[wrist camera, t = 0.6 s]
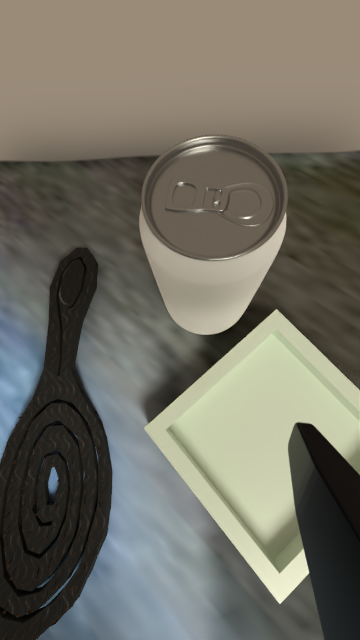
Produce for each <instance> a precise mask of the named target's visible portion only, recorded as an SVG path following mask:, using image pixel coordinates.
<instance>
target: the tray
mask: <svg viewBox="0 0 360 640" xmlns="http://www.w3.org/2000/svg"><path fill="white" fill-rule="evenodd" d="M296 422H302V423H310V424H312V425H314V426H315V427H316V428H317V429H318V430H319V431H320V433H321V434H322V435H323V436H324V437H325V438H326V439H327V440H328V441H329V442H330V443H331V444H332V445H333V447H334V448H335V449H336V450H337V451H338V452H339V453H340V454H341V455H342V456H343V457H344V458H345V459H346V461H347V462H348V463H349V464H350V465H351V466H352V467H353V468H354V469H355V470H356V471H357V472H358V473H359V475H360V390H359V389H358V388H357V387H356V386H355V385H354V384H353V383H352V382H351V381H350V380H349V379H348V378H346V377H345V376H344V375H343V374H342V373H341V372H340V371H339V370H338V369H337V368H336V367H335V366H334V365H333V364H332V363H331V362H330V361H329V360H328V359H327V358H326V357H325V356H324V355H323V354H322V353H321V352H320V351H319V350H318V349H317V348H316V347H315V346H314V345H313V344H312V343H311V342H310V341H309V340H308V339H307V338H306V337H305V336H304V335H302V334H301V333H300V332H299V331H298V330H297V329H296V328H295V327H294V326H293V325H292V324H291V323H290V322H289V321H288V320H287V319H286V318H285V317H284V316H283V315H282V314H281V313H280V312H279V311H278V310H277V309H276V310H275V311H274V312H273V313H272V314H271V315H269V316H268V317H267V318H266V319H265V320H264V321H263V322H262V323H261V324H259V325H258V326H257V327H256V328H255V329H254V330H253V331H252V332H251V333H249V334H248V335H247V336H246V337H245V338H244V339H243V340H242V341H240V342H239V343H238V344H237V345H236V346H235V347H234V348H233V349H232V350H230V351H229V352H228V353H227V354H226V355H225V356H224V357H223V358H222V359H220V360H219V361H218V362H217V363H216V364H215V365H214V366H213V367H212V368H210V369H209V370H208V371H207V372H206V373H205V374H204V375H203V376H201V377H200V378H199V379H198V380H197V381H196V382H195V383H194V384H193V385H191V386H190V387H189V388H188V389H187V390H186V391H185V392H184V393H183V394H181V395H180V396H179V397H178V398H177V399H176V400H175V401H174V402H173V403H171V404H170V405H169V406H168V407H167V408H166V409H165V410H164V411H162V412H161V413H160V414H159V415H158V416H157V417H156V418H155V419H154V420H152V421H151V422H150V423H149V424H148V425H147V426H146V427H145V428H144V429H145V430H146V432H147V433H148V434H149V435H150V437H151V438H152V439H153V441H154V442H155V443H156V445H157V446H158V447H159V448H160V450H161V451H162V452H163V454H164V455H165V456H166V457H167V459H168V460H169V461H170V463H171V464H172V465H173V467H174V468H175V469H176V470H177V472H178V473H179V474H180V476H181V477H182V478H183V479H184V481H185V482H186V483H187V485H188V486H189V487H190V489H191V490H192V491H193V492H194V494H195V495H196V496H197V498H198V499H199V500H200V501H201V503H202V504H203V505H204V507H205V508H206V509H207V511H208V512H209V513H210V514H211V516H212V517H213V518H214V520H215V521H216V522H217V523H218V525H219V526H220V527H221V529H222V530H223V531H224V533H225V534H226V535H227V536H228V538H229V539H230V540H231V542H232V543H233V544H234V545H235V547H236V548H237V549H238V551H239V552H240V553H241V555H242V556H243V557H244V558H245V560H246V561H247V562H248V564H249V565H250V566H251V567H252V569H253V570H254V571H255V573H256V574H257V575H258V576H259V578H260V579H261V580H262V582H263V583H264V584H265V586H266V587H267V588H268V589H269V591H270V592H271V593H272V595H273V596H274V597H275V598H276V600H277V601H278V602H279V604H281V603H282V601H283V600H284V599H285V598H286V597H287V596H288V595H289V594H290V593H291V592H292V591H293V590H294V589H295V588H296V586H297V585H298V584H299V583H300V582H301V581H302V580H303V579H304V578H305V577H306V576H307V575H308V574H309V570H308V566H307V561H306V557H305V553H304V548H303V544H302V539H301V535H300V531H299V526H298V522H297V517H296V512H295V505H294V497H293V489H292V481H291V473H290V464H289V456H288V442H289V439H290V436H291V433H292V430H293V427H294V424H295V423H296Z"/></svg>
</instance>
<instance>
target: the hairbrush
mask: <svg viewBox="0 0 360 640" xmlns="http://www.w3.org/2000/svg"><path fill="white" fill-rule="evenodd" d="M82 260H83V261H84V263H85V265H86V266H85V265H84V263H83V262H82ZM95 261H96V260H95V259H94V257H93V255H92V254H91V253H90V251H89V250H88V249H87V248H76V249H75V250H74V251H72V252H71V253H70V254H69V255H68V256H67V257H66V258H65V259H63V260H62V261H61V262H60V264H59V267H58V269H57V271H56V274H55V276H54V279H53V281H52V284H51V286H50V304H49V325H48V334H47V344H46V353H45V363H44V370H43V373H42V375H41V378H40V381H39V383H38V386H37V389H36V391H35V394H34V396H33V398H32V400H31V401H30V403H29V405H28V407H27V408H26V410H25V412H24V414H22V417H19V418H21V419H20V421H19V422H18V424H16V425H17V426H16V428H15V429H14V431H13V433H12V435H11V436H10V438H9V440H8V442H7V445H6V448H5V451H4V454H3V457H2V459H1V463H0V640H36V639H38V637H39V636H40V635H41V634H42V633H43V632H45V631H46V630H47V629H48V628H49V627H50V626H52V625H54V624H56V623H57V621H58V620H59V619H60V618H61V617H62V616H63V615H64V614H65V613H66V612H67V611H68V610H69V609H70V608H71V607H72V606H73V604H74V603H75V601H76V600H77V599H78V598H79V596H80V594H81V592H82V590H83V587H84V585H85V583H86V581H87V579H88V577H89V575H90V573H91V571H92V569H93V567H94V564H95V561H96V559H97V556H98V554H99V551H100V549H101V547H102V545H103V542H104V540H105V538H106V536H107V532H108V523H109V514H110V509H111V494H112V466H111V460H110V454H109V447H108V441H107V436H106V434H105V431H104V428H102V427H103V424H102V421H101V419H100V418H99V419H100V421H101V424H102V426H101V424H100V422H99V420H98V417H97V415H98V414H97V412H96V411H95V409H94V407H93V405H92V404H91V402H90V400H89V398H88V397H87V395H86V393H85V391H84V388H83V386H82V384H81V382H80V380H79V378H78V376H77V374H76V371H75V369H74V366H75V361H76V355H77V350H78V344H79V339H80V333H81V328H82V323H83V321H84V318H85V316H86V313H87V311H88V308H89V306H90V303H91V300H92V298H93V295H94V293H95V290H96V286H97V271H98V264H97V266H96V263H97V262H96V263H95ZM86 267H87V268H86ZM60 400H64V401H67V402H70V403H73V404H74V405H75V406H76V408H75V407H74V406H73V405H71V404H70V403H66V402H59V403H56V402H58V401H60ZM47 406H48V407H47ZM46 407H47V408H46ZM45 408H46V409H45ZM78 411H79V412H78ZM96 414H97V415H96ZM84 419H85V420H86V421H85V420H84ZM56 421H60V422H61V423H63V424H64V425H65V426H64V425H59V424H55V425H51V426H49V425H50V424H52V423H54V422H56ZM86 422H87V423H88V425H89V426H90V427H89V426H88V425H87V423H86ZM47 426H48V427H47ZM46 427H47V428H46ZM45 429H46V430H45ZM44 430H45V431H44ZM43 431H44V433H43V434H42V432H43ZM72 432H73V433H74V434H76V435H77V438H78V440H77V438H76V437H75V435H74V434H73V433H72ZM41 434H42V436H41V437H40V439H39V440H38V437H39V436H40V435H41ZM92 436H93V437H92ZM37 440H38V442H37ZM36 442H37V444H36ZM95 447H96V449H95ZM55 450H59V451H60V453H61V454H62V455H63V456H61V455H60V454H59V453H54V454H52V455H49V454H50V453H51V452H53V451H55ZM96 450H97V454H98V457H99V459H98V461H97V455H96ZM48 455H49V456H48ZM30 459H31V460H30ZM43 459H45V460H44V463H43V467H42V470H41V466H42V462H43ZM67 462H68V464H67ZM53 467H55V469H56V472H57V474H58V477H59V480H60V483H59V484H58V486H59V487H58V490H57V494H56V498H55V501H54V502H52V501H51V503H50V502H49V497H50V496H49V492H48V485H49V484H48V480H49V477H50V472H51V468H53ZM68 467H69V469H68ZM83 467H84V469H83ZM40 471H41V472H40ZM84 472H85V479H83V476H84ZM39 475H40V478H39ZM38 480H39V481H38ZM59 480H58V482H59ZM70 483H71V488H70ZM97 493H98V494H97ZM36 500H37V504H36ZM50 500H51V499H50ZM97 500H98V506H97ZM81 502H82V503H81ZM80 509H81V510H80ZM94 512H95V513H94ZM49 521H52V522H49ZM58 536H59V537H58ZM57 538H58V539H57ZM56 539H57V542H56V543H55V544H54V545H53V546H52V547H51V548H50V549H49V550H48V551H46V552H45V553H43V554H42V552H43V551H44V550H46V549H47V548H48V547H49V546H50V545H51V544H52V543H53V542H54V541H55V540H56ZM69 550H70V551H69ZM68 552H69V554H68V556H67V559H66V561H65V562H64V563H63V564H62V566H61V567H60V568H59V570H58V571H57V572H56V573H55V571H56V570H57V568H58V567H59V565H60V564H61V562H62V561H63V559H64V558H65V556H66V555H67V553H68ZM83 552H84V554H83ZM82 554H83V557H82V561H81V564H80V566H79V568H78V569H77V570H76V572H75V573H74V575H73V576H72V577H71V575H72V573H73V571H74V569H75V567H76V565H77V563H78V562H79V560H80V558H81V556H82ZM54 573H55V575H54V576H53V577H52V579H51V580H50V581H48V582H47V583H46V584H45V585H44V586H43V587H40V588H37V587H38V586H40V585H41V584H42V583H43V582H44V581H45V580H46V579H47V578H49V577H50V576H51V575H52V574H54ZM70 577H71V579H70V580H69V582H68V583H67V584H66V586H65V587H64V588H63V589H62V590H61V592H60V593H59V594H58V595H57V596H56V597H55V598H54V599H53V600H52V601H51V602H50V603H49V604H48V605H47V606H45V607H43V608H41V609H39V608H40V607H41V606H42V605H43V604H45V603H46V601H48V600H49V599H50V598H51V597H52V596H53V595H54V594H55V593H56V592H57V591H58V590H59V589H60V588H61V587H62V586H63V585H64V583H65V582H66V581H67V580H68V579H69V578H70ZM35 610H36V611H35ZM28 613H29V614H28Z"/></svg>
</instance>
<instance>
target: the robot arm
mask: <svg viewBox="0 0 360 640" xmlns="http://www.w3.org/2000/svg"><path fill="white" fill-rule="evenodd" d="M288 456H289V464H290V473H291V481H292V489H293V497H294V505H295V512H296V517H297V522H298V526H299V531H300V535H301V539H302V544H303V548H304V553H305V557H306V561H307V566H308V570H309V574H310V579H311V583H312V587H313V592H314V596H315V601H316V605H317V609H318V614H319V618H320V622H321V627H322V631H323V636H324V640H360V475H359V473H358V472H357V471H356V470H355V469H354V468H353V467H352V466H351V465H350V464H349V463H348V462H347V461H346V459H345V458H344V457H343V456H342V455H341V454H340V453H339V452H338V451H337V450H336V449H335V448H334V447H333V445H332V444H331V443H330V442H329V441H328V440H327V439H326V438H325V437H324V436H323V435H322V434H321V433H320V431H319V430H318V429H317V428H316V427H315V426H314V425H312V424H310V423H302V422H296V423H295V424H294V427H293V430H292V433H291V436H290V439H289V442H288Z"/></svg>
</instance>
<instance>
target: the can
mask: <svg viewBox="0 0 360 640" xmlns="http://www.w3.org/2000/svg"><path fill="white" fill-rule="evenodd" d="M287 203H288V191H287V185H286V181H285V178H284V175H283V173H282V171H281V169H280V167H279V166H278V164H277V163H276V162H275V160H274V159H273V158H272V157H271V156H270V155H269V154H268V153H267V152H265V151H264V150H263V149H261V148H260V147H259V146H257V145H255V144H253V143H251V142H249V141H247V140H244V139H241V138H238V137H233V136H228V135H204V136H198V137H194V138H190V139H187V140H185V141H183V142H180V143H178V144H176V145H174V146H173V147H171V148H170V149H168V150H167V151H166V152H164V153H163V154H162V155H161V156H160V157H159V158H158V159H157V160H156V161H155V162H154V164H153V165H152V166H151V168H150V170H149V171H148V173H147V175H146V177H145V180H144V183H143V187H142V193H141V210H140V216H139V228H140V235H141V239H142V243H143V246H144V249H145V252H146V255H147V258H148V261H149V263H150V266H151V269H152V271H153V274H154V277H155V280H156V282H157V285H158V288H159V290H160V293H161V295H162V298H163V301H164V303H165V306H166V308H167V310H168V312H169V314H170V316H171V317H172V318H173V320H174V321H175V322H176V323H177V324H178V325H179V326H181V327H182V328H184V329H185V330H187V331H190V332H192V333H196V334H202V335H210V334H216V333H220V332H222V331H225V330H227V329H228V328H230V327H231V326H233V325H234V324H235V323H236V322H237V321H238V320H239V319H240V318H241V316H242V315H243V313H244V312H245V310H246V308H247V307H248V305H249V303H250V301H251V300H252V298H253V296H254V294H255V293H256V291H257V289H258V287H259V286H260V284H261V282H262V280H263V279H264V277H265V275H266V273H267V271H268V270H269V268H270V266H271V264H272V262H273V260H274V259H275V257H276V255H277V253H278V251H279V248H280V246H281V244H282V241H283V238H284V234H285V230H286V209H287Z"/></svg>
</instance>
